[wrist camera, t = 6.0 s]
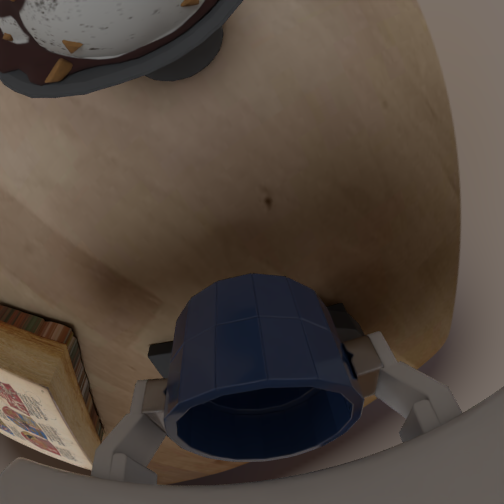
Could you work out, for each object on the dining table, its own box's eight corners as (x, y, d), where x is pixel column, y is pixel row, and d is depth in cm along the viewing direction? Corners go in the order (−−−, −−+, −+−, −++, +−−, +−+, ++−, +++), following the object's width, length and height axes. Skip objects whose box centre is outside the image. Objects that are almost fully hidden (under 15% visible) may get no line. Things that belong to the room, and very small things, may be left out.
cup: (318, 248, 10) (372, 351, 6) (327, 355, 14) (356, 440, 9) (153, 286, 11) (124, 397, 6) (206, 380, 14) (206, 467, 10)
